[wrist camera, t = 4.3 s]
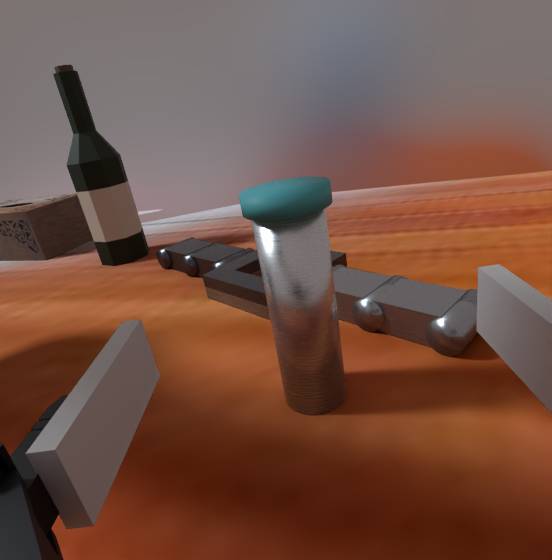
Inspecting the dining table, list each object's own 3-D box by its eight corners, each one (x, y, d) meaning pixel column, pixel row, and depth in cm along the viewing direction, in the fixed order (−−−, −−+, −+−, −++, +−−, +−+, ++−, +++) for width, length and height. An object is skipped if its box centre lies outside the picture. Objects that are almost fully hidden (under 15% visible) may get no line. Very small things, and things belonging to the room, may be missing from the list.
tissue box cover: (101, 236, 89) (85, 192, 85) (46, 261, 77) (25, 211, 73) (25, 239, 100) (8, 200, 96) (-33, 262, 88) (-55, 218, 84)
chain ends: (446, 382, 28) (446, 346, 27) (142, 274, 60) (136, 255, 59) (505, 309, 35) (508, 278, 34) (206, 247, 67) (202, 230, 66)
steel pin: (321, 431, 26) (285, 201, 20) (264, 399, 30) (220, 197, 24) (367, 386, 29) (348, 176, 23) (311, 362, 33) (282, 176, 27)
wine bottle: (157, 253, 69) (99, 58, 57) (108, 269, 65) (35, 63, 53) (141, 245, 76) (86, 69, 64) (96, 260, 71) (29, 74, 60)
